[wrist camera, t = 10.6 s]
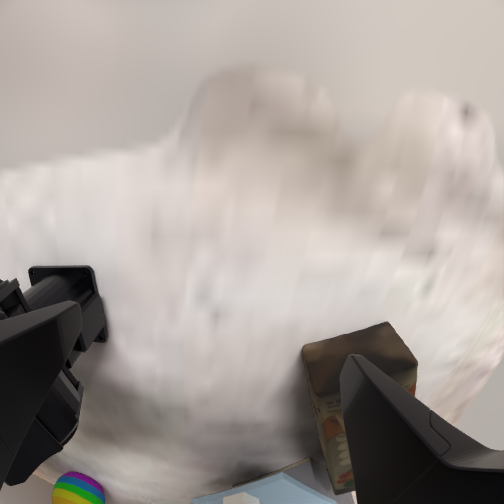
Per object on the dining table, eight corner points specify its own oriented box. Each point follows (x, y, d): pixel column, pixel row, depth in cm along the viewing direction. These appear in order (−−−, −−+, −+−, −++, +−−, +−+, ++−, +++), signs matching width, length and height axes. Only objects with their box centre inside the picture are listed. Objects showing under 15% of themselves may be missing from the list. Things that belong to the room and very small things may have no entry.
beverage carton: (322, 460, 29) (333, 503, 23) (295, 341, 23) (312, 398, 17) (385, 440, 29) (403, 479, 22) (387, 312, 23) (425, 357, 17)
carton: (232, 485, 30) (233, 516, 25) (309, 457, 28) (317, 491, 23) (282, 508, 33) (285, 534, 28) (348, 483, 31) (356, 510, 27)
